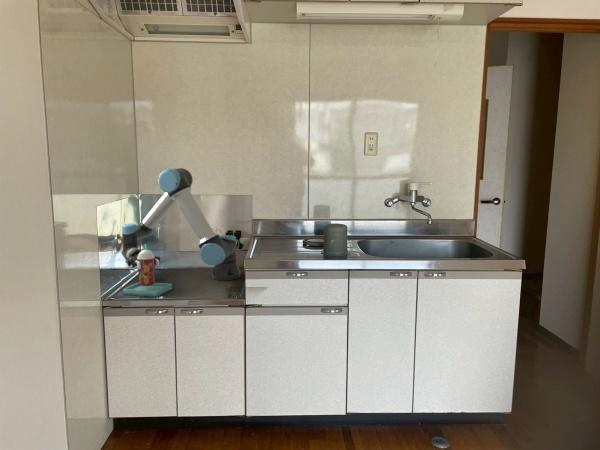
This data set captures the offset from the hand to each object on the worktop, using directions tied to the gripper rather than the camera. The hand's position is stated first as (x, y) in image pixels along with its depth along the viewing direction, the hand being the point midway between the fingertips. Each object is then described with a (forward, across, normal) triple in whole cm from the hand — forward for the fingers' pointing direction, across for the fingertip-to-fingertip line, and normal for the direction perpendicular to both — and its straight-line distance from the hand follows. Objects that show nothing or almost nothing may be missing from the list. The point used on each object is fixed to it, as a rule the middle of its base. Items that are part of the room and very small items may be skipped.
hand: (149, 264), depth 216 cm
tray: (-5, 0, -14) cm, 15 cm away
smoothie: (-5, 0, -11) cm, 12 cm away
